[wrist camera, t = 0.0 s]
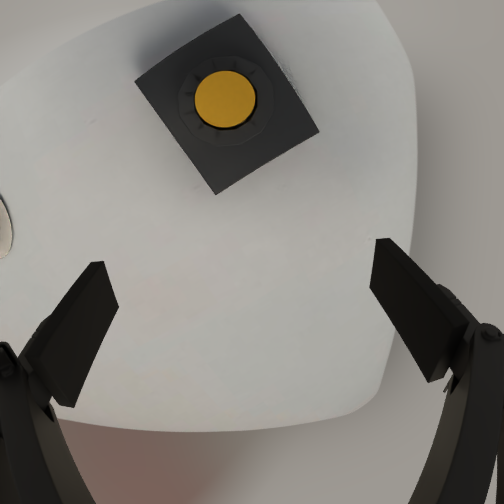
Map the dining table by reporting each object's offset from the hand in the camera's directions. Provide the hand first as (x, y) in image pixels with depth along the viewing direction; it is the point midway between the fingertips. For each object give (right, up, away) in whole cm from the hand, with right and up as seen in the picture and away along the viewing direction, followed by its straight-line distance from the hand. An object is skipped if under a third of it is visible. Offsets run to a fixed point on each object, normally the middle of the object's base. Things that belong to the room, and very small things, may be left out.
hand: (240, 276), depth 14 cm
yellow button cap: (-1, +12, +6) cm, 13 cm away
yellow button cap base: (-2, +14, +10) cm, 17 cm away
